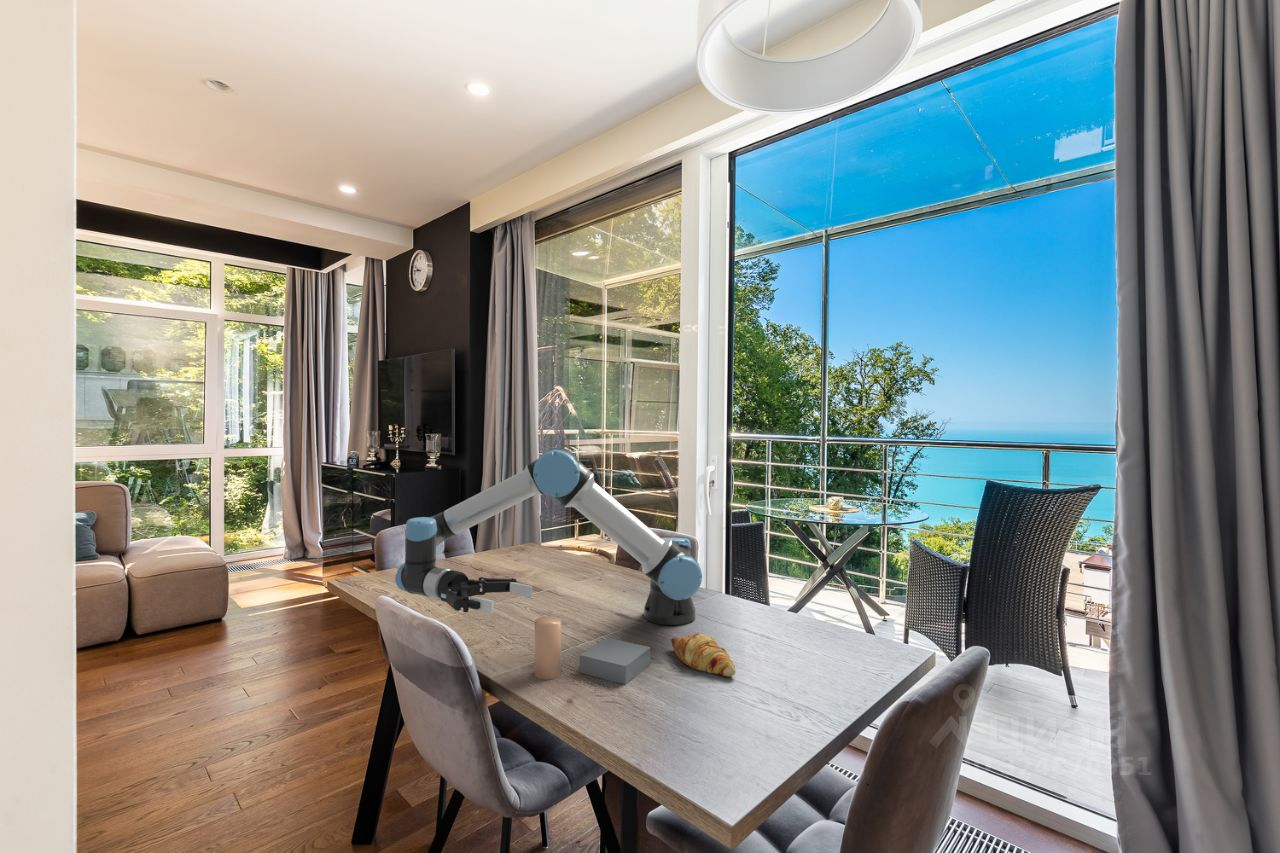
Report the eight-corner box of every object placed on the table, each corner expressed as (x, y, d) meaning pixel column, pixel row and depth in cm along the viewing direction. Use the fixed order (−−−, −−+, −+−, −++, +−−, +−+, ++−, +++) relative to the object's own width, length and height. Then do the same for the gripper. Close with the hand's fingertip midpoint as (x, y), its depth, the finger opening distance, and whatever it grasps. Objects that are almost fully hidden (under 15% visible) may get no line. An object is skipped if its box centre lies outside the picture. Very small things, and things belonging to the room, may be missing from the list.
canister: (545, 665, 135) (545, 614, 135) (566, 671, 132) (566, 619, 132) (528, 675, 130) (529, 622, 129) (550, 681, 127) (550, 627, 127)
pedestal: (607, 653, 142) (607, 637, 142) (650, 664, 137) (650, 647, 136) (579, 672, 132) (579, 655, 132) (625, 684, 126) (625, 666, 126)
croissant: (742, 691, 131) (754, 656, 133) (715, 681, 125) (728, 645, 127) (679, 658, 147) (691, 628, 150) (653, 648, 142) (665, 617, 144)
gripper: (482, 587, 156) (545, 601, 146) (405, 614, 134) (474, 631, 124) (482, 560, 156) (546, 571, 146) (406, 582, 134) (474, 597, 124)
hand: (513, 599), depth 135 cm, fingers open, 13 cm apart
